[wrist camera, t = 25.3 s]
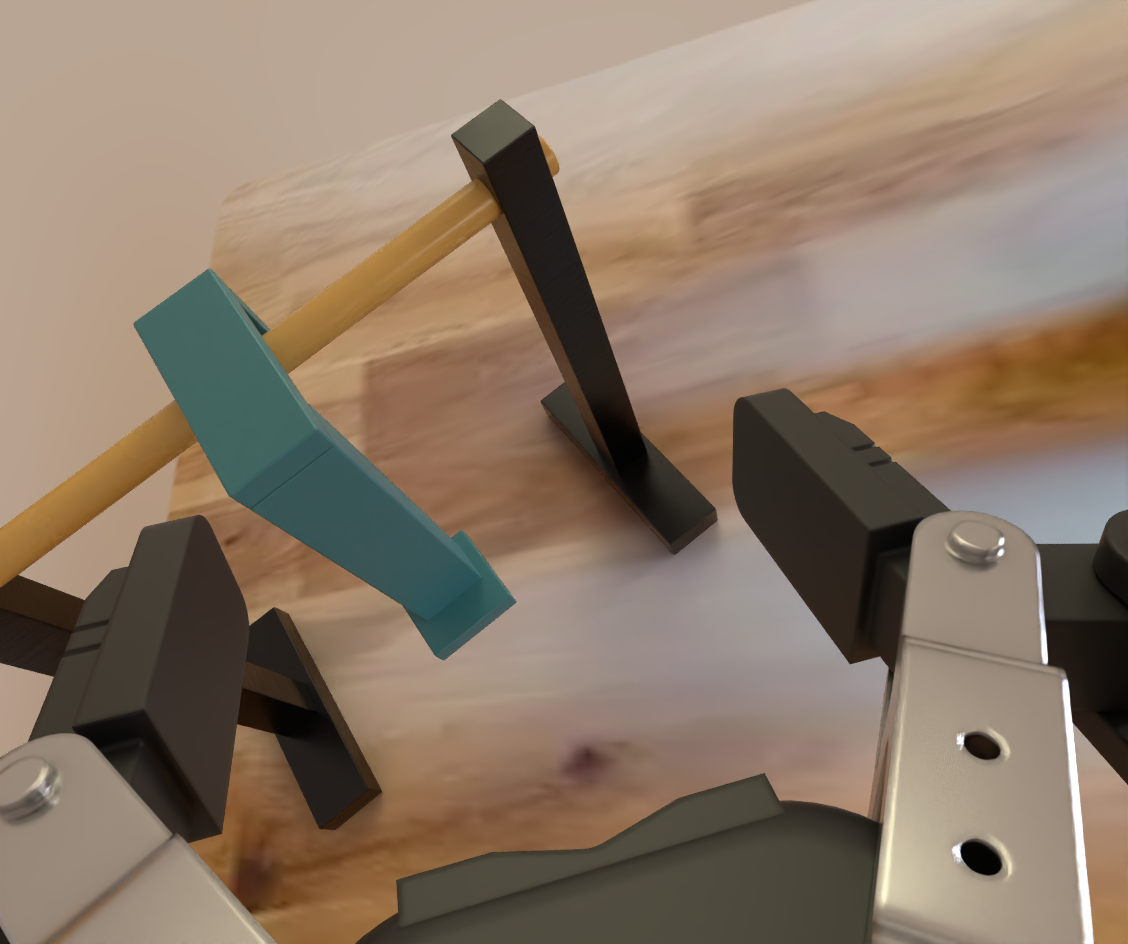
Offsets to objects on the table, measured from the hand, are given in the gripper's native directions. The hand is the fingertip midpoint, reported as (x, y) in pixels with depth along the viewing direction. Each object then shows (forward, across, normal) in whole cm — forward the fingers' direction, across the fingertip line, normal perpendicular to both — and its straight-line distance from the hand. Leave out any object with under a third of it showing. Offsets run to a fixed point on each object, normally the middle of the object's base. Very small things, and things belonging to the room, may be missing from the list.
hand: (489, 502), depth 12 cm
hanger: (+19, +2, +15) cm, 25 cm away
